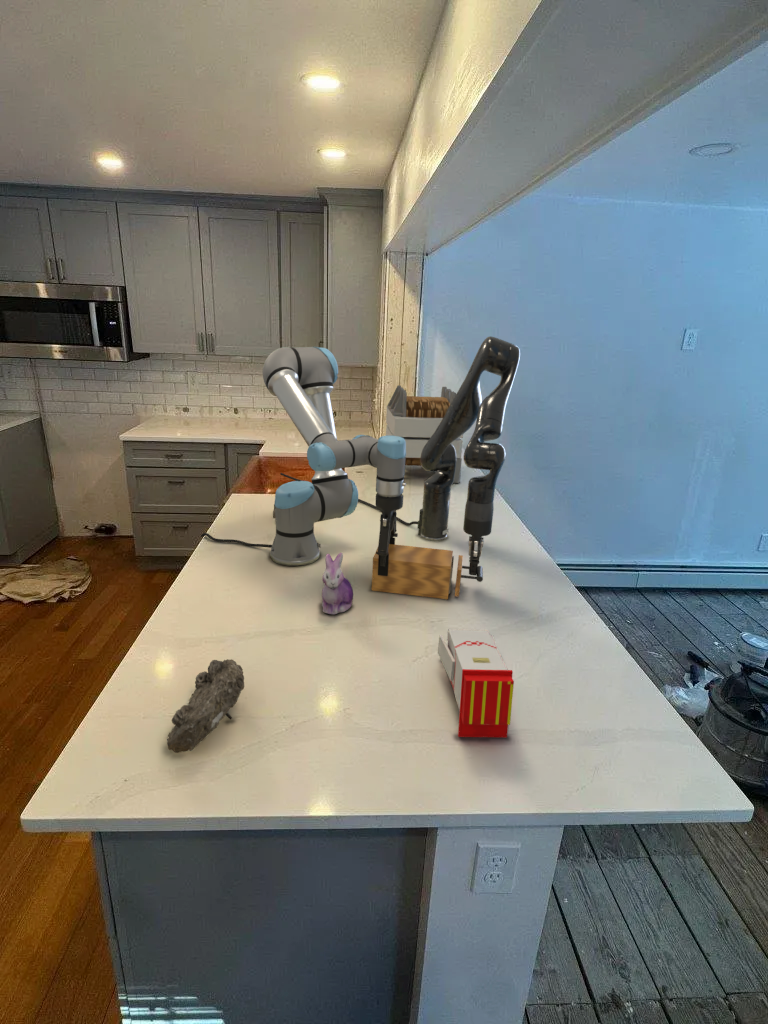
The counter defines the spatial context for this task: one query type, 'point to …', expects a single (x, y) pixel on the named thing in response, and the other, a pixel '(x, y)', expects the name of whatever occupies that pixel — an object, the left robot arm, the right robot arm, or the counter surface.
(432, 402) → the transformer
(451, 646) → the toy
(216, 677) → the fossil
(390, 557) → the cabinet
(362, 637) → the counter surface
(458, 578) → the drawer
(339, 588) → the figurine
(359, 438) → the left robot arm
